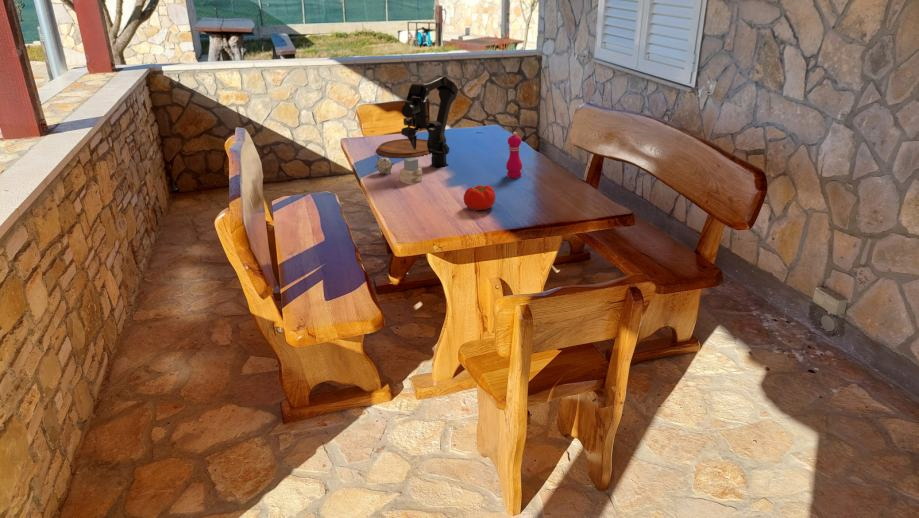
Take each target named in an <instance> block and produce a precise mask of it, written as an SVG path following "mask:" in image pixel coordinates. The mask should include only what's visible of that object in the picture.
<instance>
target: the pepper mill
mask: <svg viewBox="0 0 919 518" xmlns="http://www.w3.org/2000/svg"><path fill="white" fill-rule="evenodd" d="M507 145H508V150H509V157H508V158H507V161H506V164H505V168H506V170H507V173H506V175H507V178H509V179H510V178H511V179H518V178H521V177H522V172H521V171H522V169H523V162H522V160H521V157H520V150H521V146H520V145H522V138H521V136H519V135H518V134H517V132H516V131H513V132H512V134H511V135H510V136H508V138H507Z"/></svg>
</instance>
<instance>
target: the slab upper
mask: <svg viewBox="0 0 919 518" xmlns="http://www.w3.org/2000/svg"><path fill="white" fill-rule="evenodd" d="M400 176H401V177H405V178H408V179H413V178H416V177H419V176H422V177H423V168H420V167H418V170H413V171H408V170H405V169H404V167H403V168H400V169H399V177H400Z"/></svg>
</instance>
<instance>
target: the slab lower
mask: <svg viewBox="0 0 919 518" xmlns="http://www.w3.org/2000/svg"><path fill="white" fill-rule="evenodd" d="M399 181H400V182H401V183H403V184H407V185H409V186H410V185H414V184H417V183H420V182H422V181H423V175H422V176H419V177H416V178H413V179H408V178H405V177H401V176H400V175H399Z"/></svg>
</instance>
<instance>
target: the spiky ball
mask: <svg viewBox="0 0 919 518" xmlns="http://www.w3.org/2000/svg"><path fill="white" fill-rule="evenodd" d="M376 158H377V161H376V166H374V168H376V169H377V171H378V172H379V176H382V175H383V174H392V172H391V171H392V168H393V165H395V163H393V162H392V161H391V159H390V157H389V156H388V157H379V156H377V157H376Z"/></svg>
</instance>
